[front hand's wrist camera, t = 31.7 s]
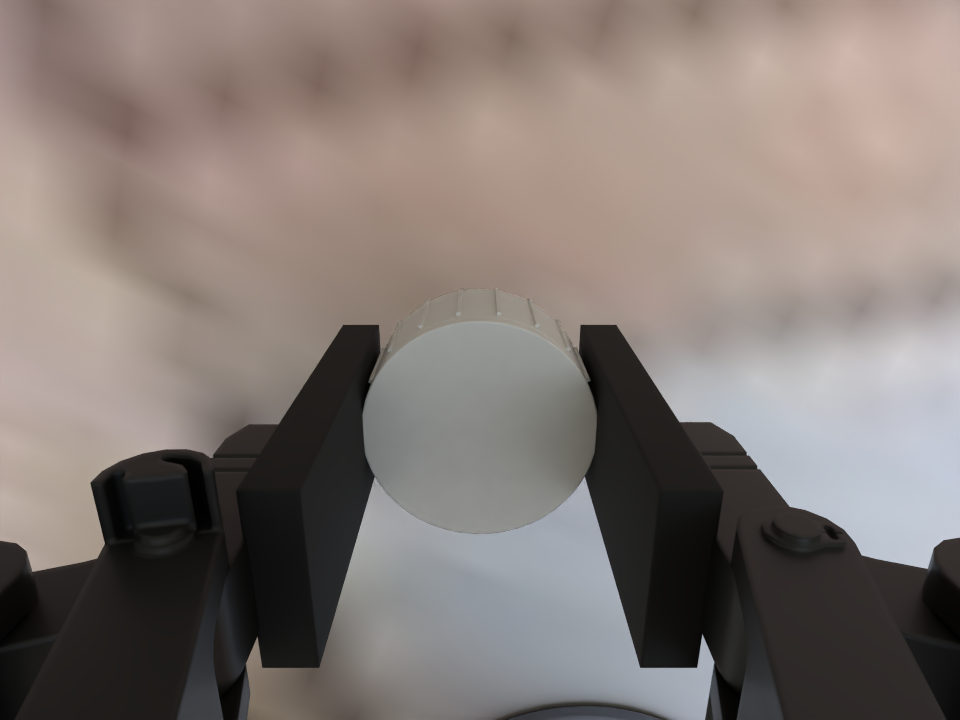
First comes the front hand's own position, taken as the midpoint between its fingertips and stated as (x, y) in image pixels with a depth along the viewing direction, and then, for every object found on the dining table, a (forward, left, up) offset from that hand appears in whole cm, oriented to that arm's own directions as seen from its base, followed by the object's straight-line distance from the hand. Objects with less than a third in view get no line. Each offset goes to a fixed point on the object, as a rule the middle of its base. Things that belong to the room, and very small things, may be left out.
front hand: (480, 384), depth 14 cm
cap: (0, 0, +2) cm, 2 cm away
